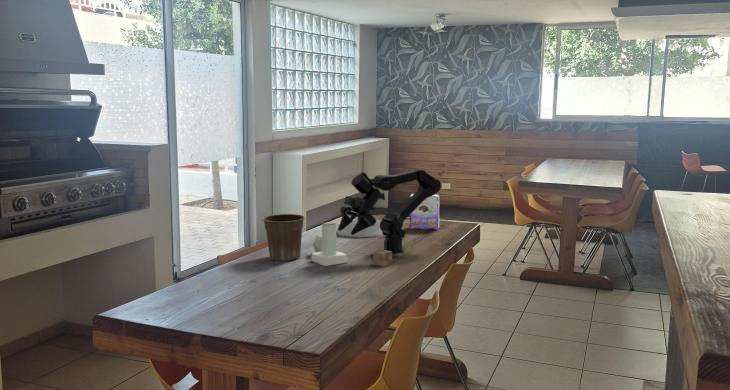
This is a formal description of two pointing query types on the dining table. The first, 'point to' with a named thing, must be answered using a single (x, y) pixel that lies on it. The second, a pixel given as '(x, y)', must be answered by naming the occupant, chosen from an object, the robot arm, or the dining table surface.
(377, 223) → the dish
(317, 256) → the slab
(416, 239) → the dining table surface
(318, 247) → the die
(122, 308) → the dining table surface
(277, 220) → the plant pot
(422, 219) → the candy box
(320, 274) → the dining table surface
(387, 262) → the walnut cube
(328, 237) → the tea tin
